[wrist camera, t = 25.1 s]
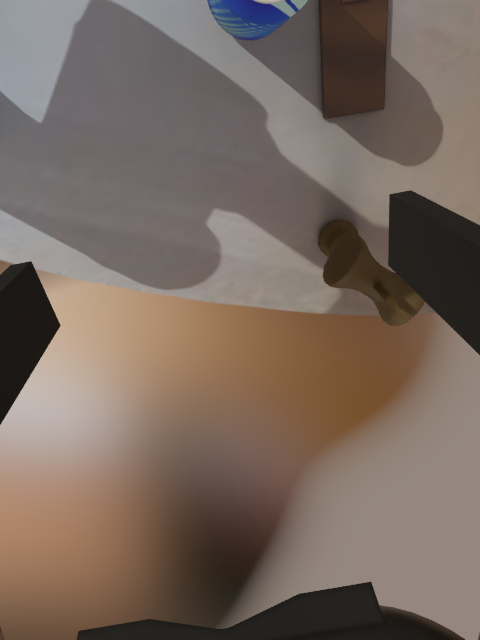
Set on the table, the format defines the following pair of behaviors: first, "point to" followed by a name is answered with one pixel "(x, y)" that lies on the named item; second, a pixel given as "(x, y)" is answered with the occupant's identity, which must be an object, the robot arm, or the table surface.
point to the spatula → (353, 55)
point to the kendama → (365, 273)
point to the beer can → (253, 16)
